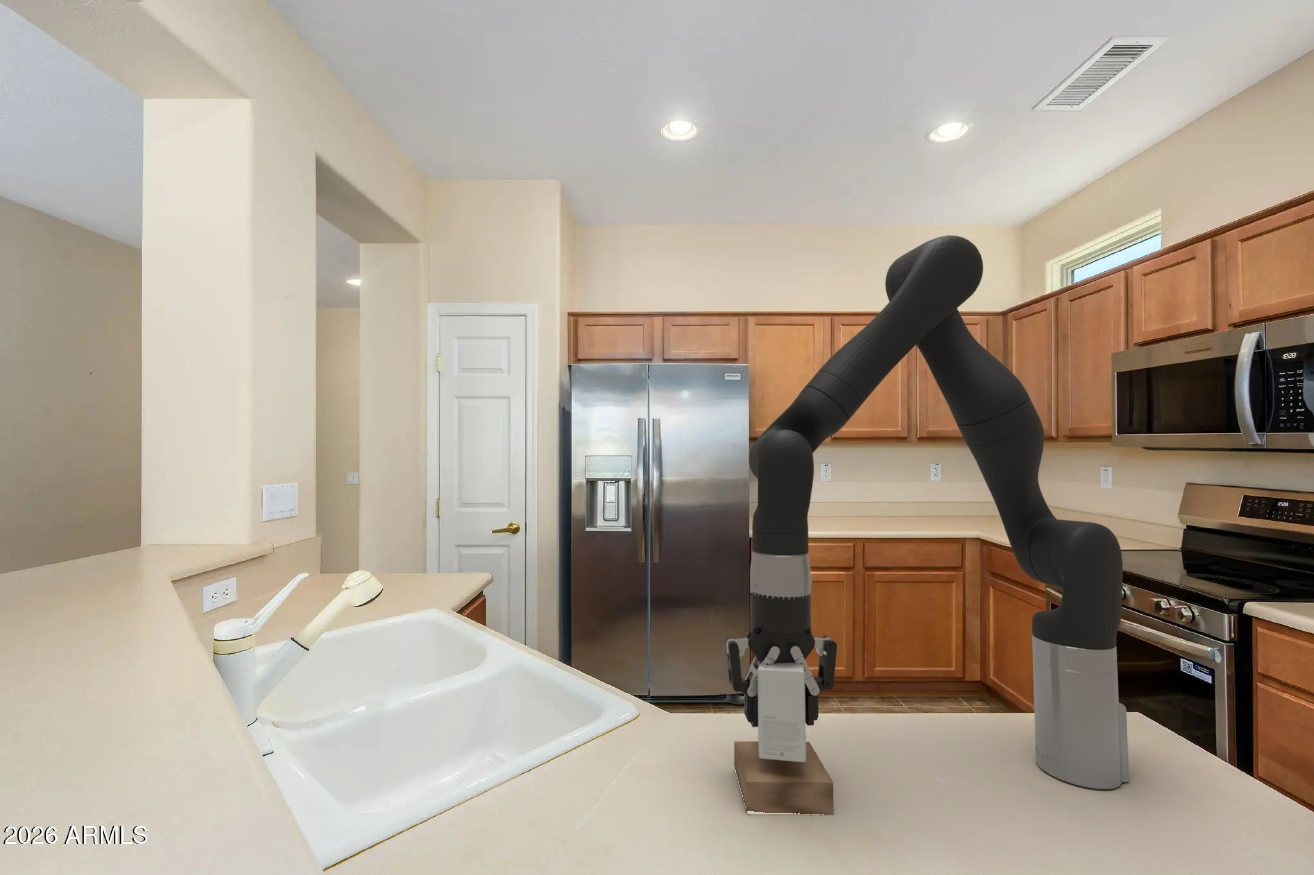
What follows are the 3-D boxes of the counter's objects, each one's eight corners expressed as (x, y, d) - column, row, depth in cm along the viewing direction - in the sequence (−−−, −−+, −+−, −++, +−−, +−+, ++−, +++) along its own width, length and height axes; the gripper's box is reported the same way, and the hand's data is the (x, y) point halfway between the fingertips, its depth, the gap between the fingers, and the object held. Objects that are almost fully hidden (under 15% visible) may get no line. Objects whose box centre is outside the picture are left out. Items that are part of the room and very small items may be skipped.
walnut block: (809, 772, 76) (809, 741, 76) (833, 818, 66) (833, 782, 66) (734, 772, 76) (734, 741, 76) (746, 818, 66) (746, 782, 66)
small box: (806, 764, 67) (805, 672, 67) (757, 759, 68) (757, 668, 68) (802, 734, 74) (802, 651, 75) (759, 730, 76) (759, 648, 76)
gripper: (825, 582, 76) (826, 710, 75) (718, 582, 75) (718, 712, 74) (847, 594, 69) (849, 736, 68) (730, 594, 68) (730, 739, 67)
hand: (781, 723), depth 71 cm, fingers closed on small box, 6 cm apart
